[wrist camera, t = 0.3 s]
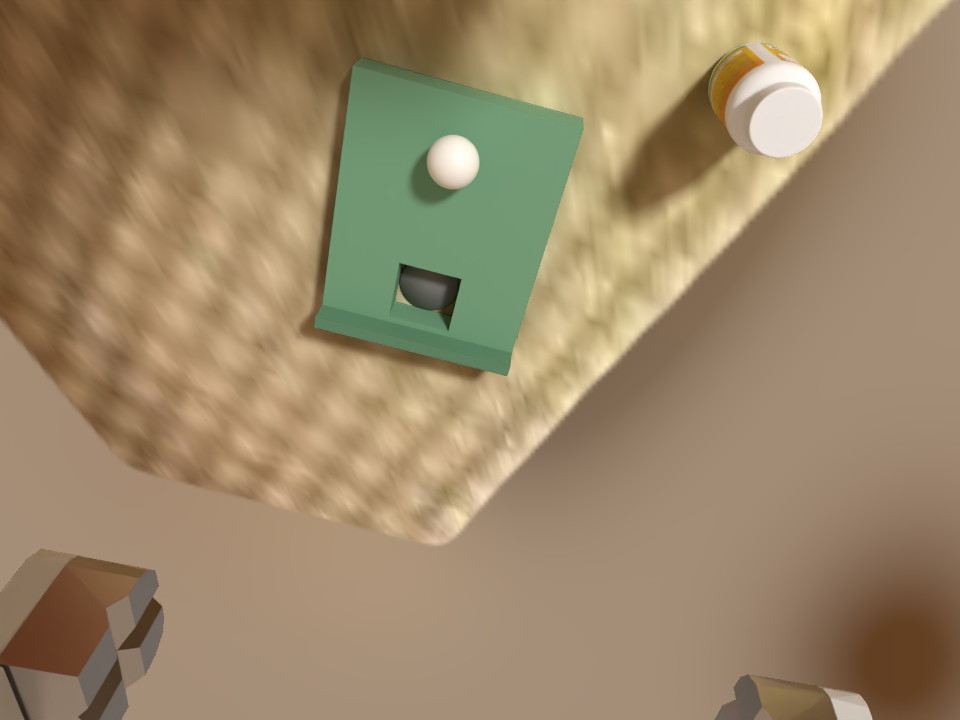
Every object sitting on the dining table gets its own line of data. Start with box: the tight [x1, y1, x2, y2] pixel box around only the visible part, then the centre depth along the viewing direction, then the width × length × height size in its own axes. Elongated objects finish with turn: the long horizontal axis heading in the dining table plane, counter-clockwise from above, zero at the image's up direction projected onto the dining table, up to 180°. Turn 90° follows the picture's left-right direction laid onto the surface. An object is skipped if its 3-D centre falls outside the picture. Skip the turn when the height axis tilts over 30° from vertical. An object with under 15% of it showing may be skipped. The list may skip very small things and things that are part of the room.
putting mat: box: [314, 58, 583, 376], centre depth 53 cm, size 20×16×4 cm
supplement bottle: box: [708, 42, 823, 158], centre depth 44 cm, size 5×5×10 cm
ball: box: [427, 135, 480, 189], centre depth 48 cm, size 4×4×4 cm
